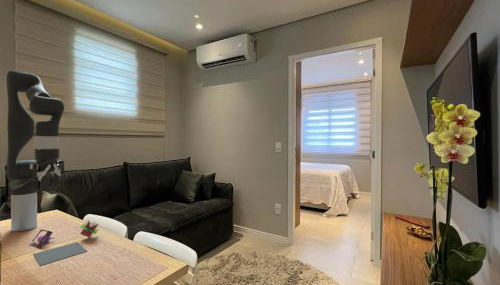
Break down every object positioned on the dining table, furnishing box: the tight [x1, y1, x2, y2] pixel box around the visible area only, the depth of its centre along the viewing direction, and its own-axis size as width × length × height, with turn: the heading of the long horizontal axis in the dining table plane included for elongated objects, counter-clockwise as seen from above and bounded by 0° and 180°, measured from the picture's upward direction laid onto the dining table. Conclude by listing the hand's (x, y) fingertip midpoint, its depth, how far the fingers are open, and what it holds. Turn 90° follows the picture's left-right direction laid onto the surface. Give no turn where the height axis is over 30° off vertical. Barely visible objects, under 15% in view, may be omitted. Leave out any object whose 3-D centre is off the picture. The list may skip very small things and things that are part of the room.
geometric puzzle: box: [79, 219, 99, 238], centre depth 106 cm, size 7×7×8 cm
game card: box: [28, 229, 55, 249], centre depth 100 cm, size 7×5×9 cm
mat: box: [33, 241, 88, 267], centre depth 92 cm, size 13×14×1 cm
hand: (47, 187), depth 95 cm, fingers open, 8 cm apart
